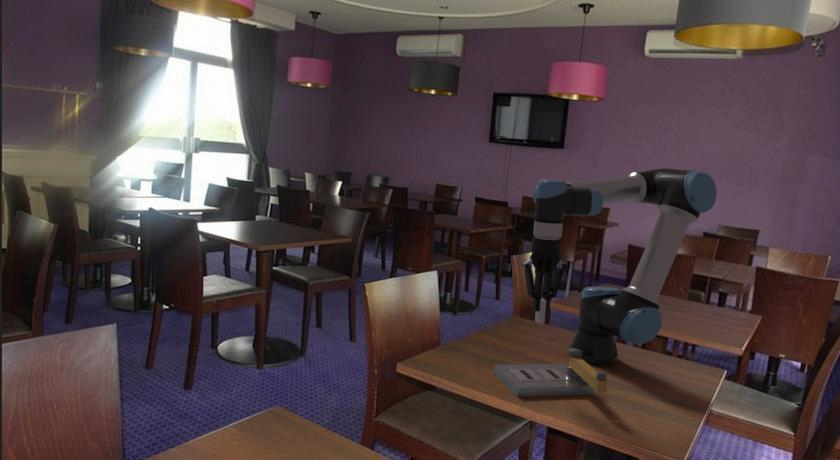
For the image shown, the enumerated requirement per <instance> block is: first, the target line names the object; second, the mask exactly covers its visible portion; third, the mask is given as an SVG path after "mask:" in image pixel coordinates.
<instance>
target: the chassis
mask: <svg viewBox="0 0 840 460" xmlns="http://www.w3.org/2000/svg"><path fill="white" fill-rule="evenodd" d="M493 374H494V375H495V376H496V378H498V379H499V380H500V381H501V382H502V383H503V384H504V385H505V386H506V387H507V388H508V390H510V391H511V392H512V393H513V394H514V395H515V396H516V397H517V398H518V397H519V398H521V397H522V398H523V397H554V396H557V397H559V396H562V397H563V396H587V395H588V396H590V395H593V393H594V389H593V388H592V387H591V386H590V385H589V384H588V383H586V382H585V381H584V380H583V379H582V378H581V377H580V376H579V375H578V374H577V373H576V372H575V371H574V370H573V369H572V368H571V367H570V366H569V365H566V364H565V363H540V364H538V363H535V364H524V363H523V364H494V369H493Z"/></svg>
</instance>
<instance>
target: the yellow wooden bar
mask: <svg viewBox="0 0 840 460" xmlns="http://www.w3.org/2000/svg"><path fill="white" fill-rule="evenodd" d="M581 354H582V351H581V350H579V349H575V348H570V349H569V348H568V350H567V356H569V361H568V362H569V363H568V366H570V367H571V368H572V369H573V370H574V371H575V372H576V373H577V374H578V375H579V376H580V377H581V378H582V379H583V380H584V381H585V382H586V383H588V384H589V385H590V386H591V387H592V388H593V391H595V392H596V393H607V388H608V380H607V376H608V373H607V372H605V371H597V370H595V369H594V368H593V367H592V366H591V364H588V363H586V362H585V361H584V360H583V359H582V358H581Z"/></svg>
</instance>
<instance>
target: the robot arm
mask: <svg viewBox="0 0 840 460" xmlns="http://www.w3.org/2000/svg"><path fill="white" fill-rule="evenodd" d="M717 193H718V192H717V187H716V182H715V181H714V179H713V177H712V176H711V175H710V174H708V173H706V172H704V171H697V170H695V169H692V170H687V169H676V168H656V169H651V170H644V171H638V172H636V171H634V172H632V173H631V172H630V174H628V175H627V176H619V177H611V178H610V177H609V178H601V179H590V180H581V181H580V180H579V181H570V182H566V181H565V180H561V179H559V180H558V179H547V178H546V179H543V178H542V179H540V180H539V181H538V182H537V186H535V188H534V189H533V192H532V200H533V203H534V204H535V209H534V223H533V233H532V234H533V237H532V241H531V242H532V243H531V246H532V247H531V254H530V256H529V259H528V260H526V261H522V262H521V263H520V264H521V267H522V269H523V270H524V279H525V285H526V292H527V296H528V297H531V298H532V299H533V308H532V309H533V310H534V311H535V314H534V315H535V316H534V322H536V323H537V324H539V325H541V324H542V325H543V324H545V321H546V312H547V311H548V310H549V306H550V305H549V303H550V301H552V298H556V297H557V295H558V291H559V288H560V285H561V281H562V279H563V275H564V273H565V271H566V269H567V268H568V264H567V263H566V262H563V261H562V260H561V256H560V252H561V248H562V247H561V246H562V239H561V238H562V237H563V223H564V217H565V216H566V217H567V216H578V217H579V216H581V217H583V216H584V217H589V216H597V215H598V214H599V213H600V212H601V211H602V209H603V205H604V204H615V203H621V202H630V203H633V204H640V203H641V204H642V203H643V204H651V205H657V208H658V211H659V212H660V214H659V217H658V218H657V220H656V223H655V225H654V228H653V230H652V233H651V235H650V237H649V240H647V244H646V247H645V249H644V251H643V253H642V255H641V257H640V260H639V263H637V267H636V269H635V272H634V274H633V276H632V278H631V281H630V283H629V285H628V286H627V287H624V288H621V289H620V288H618V287H617V288H616V287H610V286H586V287H585V288H583V289H582V291H581V292H582V293H581V297H580V299H579V300H580V302H579V311H578V320H577V328H576V333H575V334H574V336H573V338H572V340H571V343H570V345H569V348H568V349H570V348H575V349H579V350H581V351H582V354H581V358H582V359H583V360H584V361H585V362H586V363H588V364H589V365H593V366H601V367H604V366H606V367H607V366H614V365H616V364H618V359H619V353H618V349H617V344H616V339H615V338H616V337H617V338H620V339H622V340H623V341H625V342H628V343H633V344H634V345H644V344H646V343H648V342H651V341H652V340H653V339H655V337H656V336H657V335H658V334H659V332H660V330H661V328H662V325H663V324H662V322H663V320H662V318H663V317H662V314H661V312H660V311H659V310H660V307H661V304H660V302H659V301H660V300H659V295H660V293H661V291H662V288H663V286H664V284H665V282H666V279H667V277H668V275H669V273H670V270H671V268H672V266H673V263H674V261H675V260H676V259H675V258H676V257H677V254H678V251H679V249H680V247H681V244H682V242H683V240H684V237H685V235H686V234H687V231H688V229H689V227H690V226H689V225H690V224H693V223H695V222H697V221H698V220H699V218H700V215H701V214H703V213H706V212H708V211H709V210H711V209H712V208H713V207H714V206H715V203H716V201H717V200H716V199H717V195H718V194H717ZM533 268H534V274H535V275H534V274H533ZM554 270H555V271H554Z"/></svg>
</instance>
